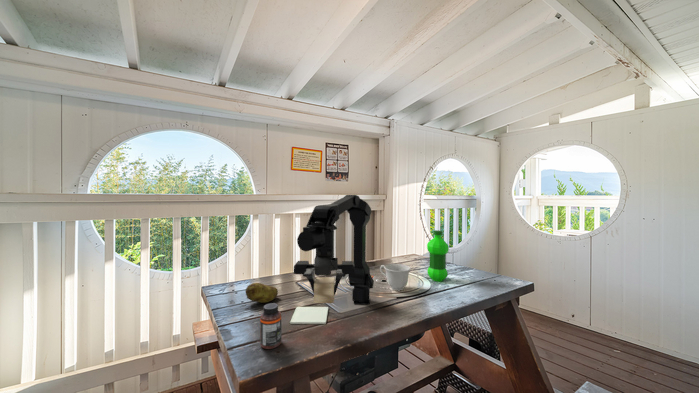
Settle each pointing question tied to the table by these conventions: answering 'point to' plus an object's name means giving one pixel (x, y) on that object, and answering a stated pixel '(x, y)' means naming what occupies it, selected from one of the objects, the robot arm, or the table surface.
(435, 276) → the plastic bottle
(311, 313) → the mat
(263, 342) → the supplement bottle
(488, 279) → the table surface
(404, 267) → the teacup
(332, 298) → the cube
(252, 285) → the potato
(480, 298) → the table surface
